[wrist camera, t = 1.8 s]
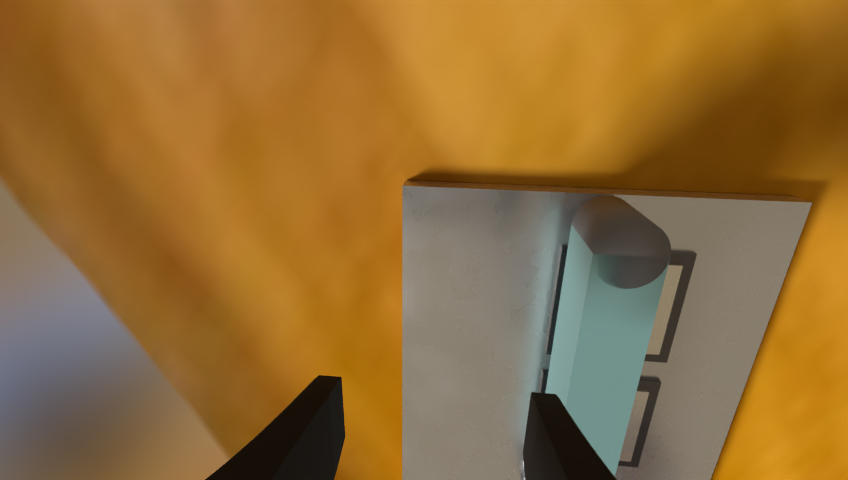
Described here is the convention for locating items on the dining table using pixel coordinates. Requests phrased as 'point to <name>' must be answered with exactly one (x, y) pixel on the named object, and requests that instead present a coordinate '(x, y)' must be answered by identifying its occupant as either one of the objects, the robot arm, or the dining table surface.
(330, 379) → the robot arm
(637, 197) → the panel
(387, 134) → the dining table surface
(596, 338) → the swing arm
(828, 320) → the dining table surface
